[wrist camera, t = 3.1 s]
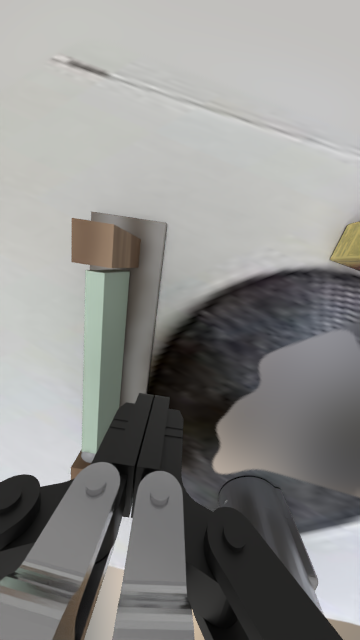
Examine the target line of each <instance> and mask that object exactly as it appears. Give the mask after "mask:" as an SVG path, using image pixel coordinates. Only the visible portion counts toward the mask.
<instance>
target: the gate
mask: <svg viewBox="0 0 360 640" xmlns="http://www.w3.org/2000/svg"><path fill="white" fill-rule="evenodd" d="M129 276H130V271H125V270H118V269H108V270H86V273H85V321H84V369H83V417H82V454H81V457H82V459H83V460H84V461H86V462H88V463H91V462H92V461H93V459H94V457H95V455H96V453H97V451H98V449H99V447H100V444H101V442H102V440H103V438H104V436H105V434H106V432H107V430H108V428H109V426H110V424H111V422H112V420H113V418H114V416H115V414H116V412H117V410H118V409H119V404H120V391H121V379H122V366H123V353H124V340H125V327H126V315H127V302H128V289H129Z"/></svg>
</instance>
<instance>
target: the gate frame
mask: <svg viewBox="0 0 360 640" xmlns="http://www.w3.org/2000/svg"><path fill="white" fill-rule="evenodd" d="M166 228H167V224H166V223H163V222H157V221H150V220H143V219H137V218H130V217H124V216H117V215H110V214H104V213H97V212H91V221H89V220H82V219H75V218H72V262H75V263H81V264H88V265H90V270H108V269H118V270H125V271H130V276H129V289H128V302H127V315H126V327H125V340H124V353H123V366H122V379H121V391H120V404H119V408H120V407H121V406H122V405H123V404H125V403H126V402H127V403H134V404H135V402H136V400H137V397H138V395H139V393H144V394H147V388H148V380H149V371H150V363H151V355H152V346H153V338H154V329H155V321H156V313H157V304H158V296H159V287H160V279H161V271H162V262H163V254H164V245H165V237H166ZM81 454H82V450H81V451H80V453H79V455H78V456H77V458H76V460H75V462H74V463H73V465H72V467H71V480H72V479H74V478H75V477H76V476H77V475H78V474H79V473H80V471H82V470H83V469H84V468H86V467H87V466H89V465H90V464H91V463H88V462H86V461H84V460H83V459H82V457H81Z"/></svg>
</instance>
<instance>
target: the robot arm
mask: <svg viewBox="0 0 360 640" xmlns="http://www.w3.org/2000/svg"><path fill="white" fill-rule="evenodd" d="M169 400H170V397H164V396H158V395H155V398H154V395H151V394H144V393H139V395H138V397H137V400H136V402H135V404H134V403H127V402H126V403H125V404H123V405H122V406H121V407H120V408H119V409H118V410H117V412H116V414H115V416H114V418H113V420H112V422H111V424H110V426H109V428H108V430H107V432H106V434H105V436H104V438H103V440H102V442H101V444H100V447H99V449H98V451H97V453H96V455H95V457H94V459H93V461H92V462H91V464H90V465H89V466H87V467H86V468H84V469H83V470H82V471H80V473H79V474H78V475H77V476H76V477H75V478H74V479H72V480H70V481H67V482H63V483H59V484H53V485H48V486H43V487H40V484H39V481H38V480H37V479H36V478H35V477H34V476H32V475H17V476H13V477H11V478H8V479H6V480H4V481H2V482H0V640H84V638H85V635H86V632H87V629H88V626H89V623H90V619H91V617H92V613H93V610H94V607H95V604H96V601H97V598H98V595H99V591H100V589H101V586H102V582H103V579H104V576H105V573H106V570H107V567H108V564H109V561H110V558H111V555H112V552H113V548H114V544H115V540H116V537H117V534H118V530H119V526H120V523H121V519H122V516H123V517H129V515H130V511H131V507H132V513H131V518H133V520H132V526H131V532H130V539H129V545H128V551H127V557H126V564H125V570H124V576H123V582H122V588H121V594H120V599H119V604H118V609H117V615H116V621H115V627H114V634H113V639H112V640H194V626H193V617H192V609H193V612H194V616H195V618H196V621H197V623H198V625H199V627H200V630H201V632H202V634H203V636H204V639H205V640H343V639H342V638H341V637H340V635H339V634H338V633H337V632H336V630H335V629H334V628H333V626H331V624H330V623H329V622H328V620H327V619H326V618H325V616H324V614H323V612H322V609H321V607H320V604H319V601H318V599H317V596H316V594H315V590H316V588H317V586H318V578H317V575H316V573H315V570H314V568H313V565H312V563H311V561H310V558H309V556H308V553H307V551H306V548H305V546H304V544H303V541H302V539H301V536H300V534H299V531H298V529H297V527H296V524H295V522H294V519H293V517H292V515H291V512H290V510H289V507H288V505H287V502H286V500H285V498H284V495H283V493H282V490H281V489H278V488H274V487H273V486H272V485H271V484H270V483H268V482H267V481H265V480H263V479H260V478H255V477H242V478H237V479H234V480H232V481H230V482H228V483H227V484H226V485H225V486H224V487H223V488H222V489H221V491H220V494H219V506H220V508H218V509H216V510H215V511H214V512H212V511H210V510H209V509H207V508H205V507H203V506H202V505H200V504H198V503H197V502H195V501H194V500H193V499H192V498H191V497H190V496H189V495H188V493H187V492H186V490H185V488H184V486H183V483H182V478H181V468H182V441H183V440H182V438H183V418H182V415H181V413H180V411H179V410H174V409H168V407H169ZM132 503H133V504H132Z"/></svg>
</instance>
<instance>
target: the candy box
mask: <svg viewBox="0 0 360 640" xmlns="http://www.w3.org/2000/svg"><path fill="white" fill-rule="evenodd" d="M330 260H332V261H335V262H337V263H340V264H343V265H346V266H348V267H351V268H354V269H357V270H360V222H356V223H352V224H349V225H347V227H346V229H345V231H344V233H343V235H342V237H341V239H340V241H339V243H338V245H337V247H336V249H335V251H334V253H333V255H332V257H331V259H330Z"/></svg>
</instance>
